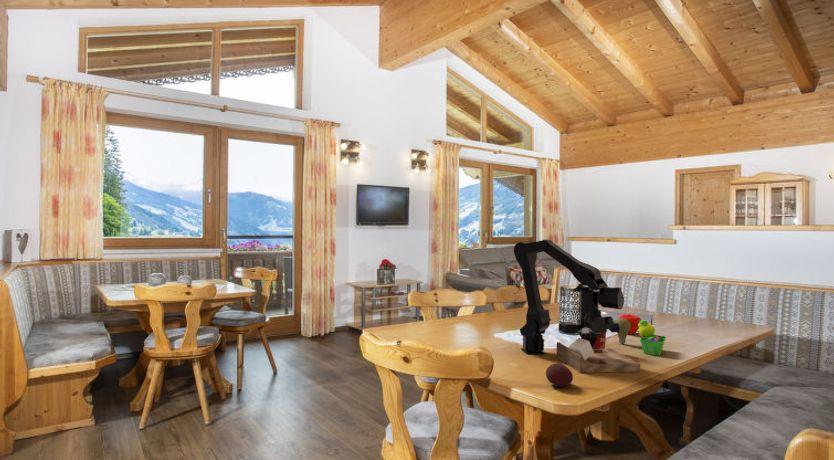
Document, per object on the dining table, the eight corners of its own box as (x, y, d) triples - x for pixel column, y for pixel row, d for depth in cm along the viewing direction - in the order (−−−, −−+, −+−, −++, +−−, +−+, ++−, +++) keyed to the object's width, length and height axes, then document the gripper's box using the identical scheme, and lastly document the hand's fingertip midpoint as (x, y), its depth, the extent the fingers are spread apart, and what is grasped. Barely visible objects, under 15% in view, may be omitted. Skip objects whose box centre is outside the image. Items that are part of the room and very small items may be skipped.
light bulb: (614, 344, 185) (614, 318, 185) (614, 341, 190) (614, 316, 190) (630, 346, 183) (630, 320, 183) (629, 343, 188) (630, 317, 188)
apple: (644, 336, 200) (645, 317, 200) (623, 335, 201) (623, 317, 200) (635, 331, 209) (635, 313, 209) (614, 331, 209) (615, 313, 209)
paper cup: (609, 354, 171) (610, 314, 171) (586, 352, 173) (587, 313, 173) (605, 348, 179) (606, 311, 179) (583, 347, 180) (584, 310, 180)
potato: (543, 388, 135) (544, 366, 135) (547, 378, 143) (547, 358, 143) (571, 392, 132) (572, 370, 132) (573, 382, 141) (574, 361, 140)
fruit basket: (663, 357, 169) (663, 324, 169) (635, 353, 174) (636, 321, 174) (666, 350, 179) (666, 319, 179) (639, 346, 183) (640, 316, 183)
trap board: (579, 372, 149) (580, 356, 149) (556, 356, 167) (556, 342, 167) (640, 371, 152) (640, 355, 152) (610, 355, 170) (610, 341, 170)
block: (584, 360, 154) (579, 349, 153) (574, 356, 158) (569, 345, 157) (593, 352, 156) (588, 340, 155) (583, 349, 160) (578, 337, 159)
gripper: (573, 310, 150) (572, 361, 150) (629, 309, 152) (629, 358, 152) (558, 304, 161) (558, 351, 161) (611, 303, 163) (611, 349, 163)
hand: (589, 353), depth 159 cm, fingers closed
